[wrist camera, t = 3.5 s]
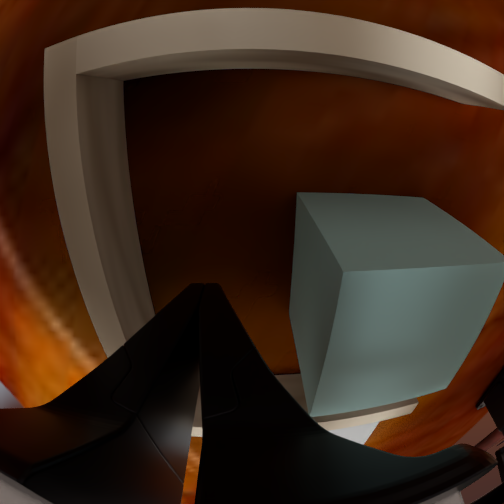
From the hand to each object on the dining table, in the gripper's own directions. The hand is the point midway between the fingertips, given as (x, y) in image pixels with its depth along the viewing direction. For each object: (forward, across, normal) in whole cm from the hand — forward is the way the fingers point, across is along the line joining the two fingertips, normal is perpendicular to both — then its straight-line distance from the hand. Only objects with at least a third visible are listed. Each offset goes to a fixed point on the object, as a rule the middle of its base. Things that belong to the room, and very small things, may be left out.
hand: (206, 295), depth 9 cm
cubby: (+2, -3, 0) cm, 4 cm away
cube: (+2, -5, 0) cm, 6 cm away
